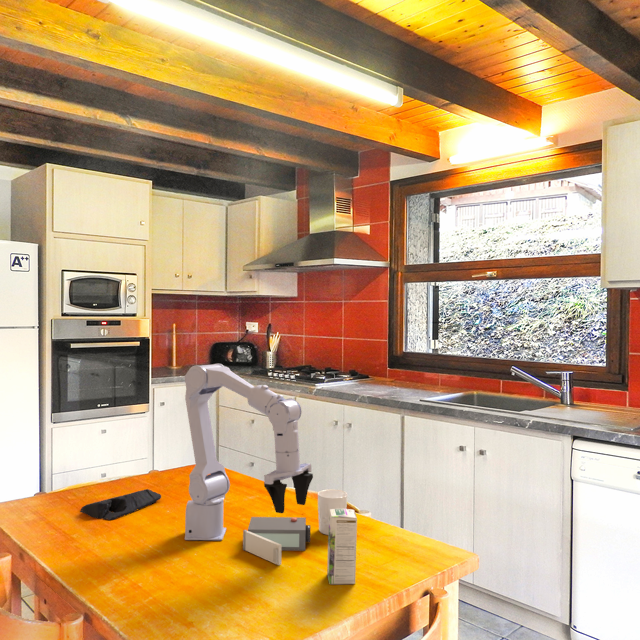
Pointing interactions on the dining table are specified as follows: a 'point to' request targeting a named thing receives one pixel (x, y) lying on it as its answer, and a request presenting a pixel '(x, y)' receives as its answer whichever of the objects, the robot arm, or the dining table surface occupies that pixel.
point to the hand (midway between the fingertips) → (290, 508)
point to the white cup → (329, 506)
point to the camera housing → (282, 531)
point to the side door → (262, 547)
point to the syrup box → (342, 546)
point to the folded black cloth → (120, 505)
